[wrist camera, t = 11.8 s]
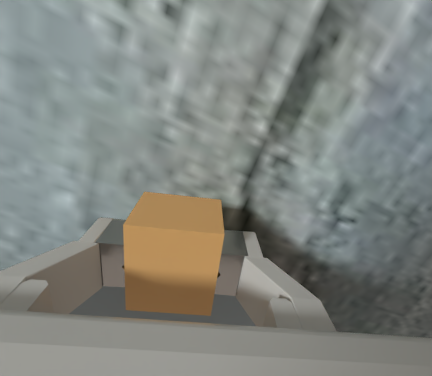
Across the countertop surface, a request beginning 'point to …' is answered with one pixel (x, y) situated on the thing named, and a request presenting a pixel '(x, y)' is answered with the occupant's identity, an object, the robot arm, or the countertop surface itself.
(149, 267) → the lid
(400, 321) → the countertop surface
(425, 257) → the countertop surface
